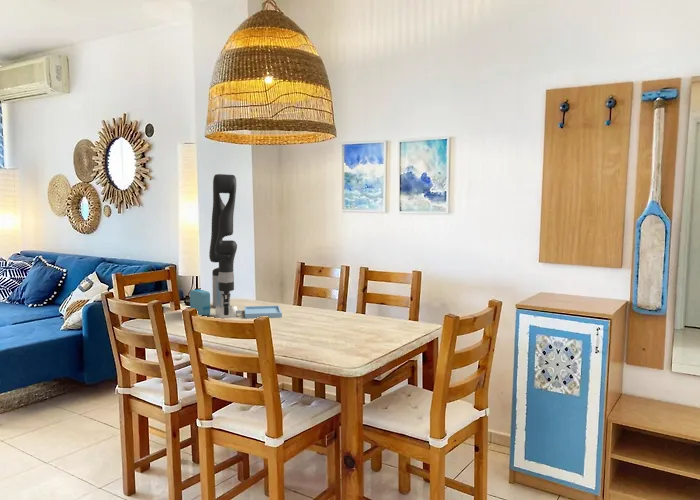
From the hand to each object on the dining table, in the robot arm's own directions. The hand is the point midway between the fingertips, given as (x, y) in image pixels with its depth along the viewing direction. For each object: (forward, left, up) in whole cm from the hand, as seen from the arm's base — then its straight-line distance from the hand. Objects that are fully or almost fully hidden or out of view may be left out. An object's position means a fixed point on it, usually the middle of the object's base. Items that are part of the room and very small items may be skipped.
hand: (226, 313), depth 269 cm
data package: (-7, -13, -2) cm, 15 cm away
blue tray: (-4, +18, -2) cm, 19 cm away
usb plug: (0, +1, -2) cm, 2 cm away
